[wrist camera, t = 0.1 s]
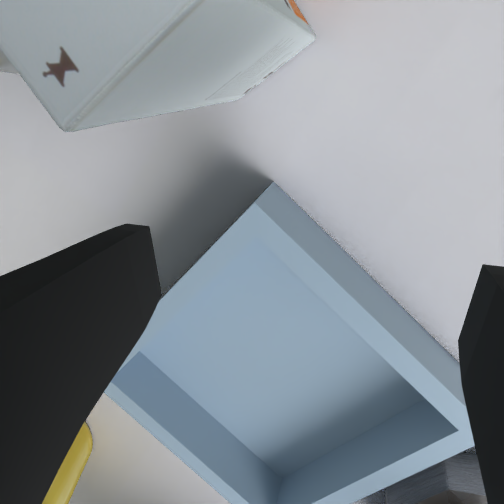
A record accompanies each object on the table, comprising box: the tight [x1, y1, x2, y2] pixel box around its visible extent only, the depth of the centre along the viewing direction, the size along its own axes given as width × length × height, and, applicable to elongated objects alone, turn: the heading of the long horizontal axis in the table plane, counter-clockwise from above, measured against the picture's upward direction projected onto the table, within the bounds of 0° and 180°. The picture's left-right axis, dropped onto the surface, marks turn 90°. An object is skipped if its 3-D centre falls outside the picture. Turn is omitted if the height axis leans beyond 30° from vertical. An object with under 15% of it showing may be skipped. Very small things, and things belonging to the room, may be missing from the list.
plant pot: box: [42, 422, 93, 504], centre depth 27 cm, size 10×10×10 cm
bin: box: [104, 181, 475, 504], centre depth 22 cm, size 14×14×4 cm
